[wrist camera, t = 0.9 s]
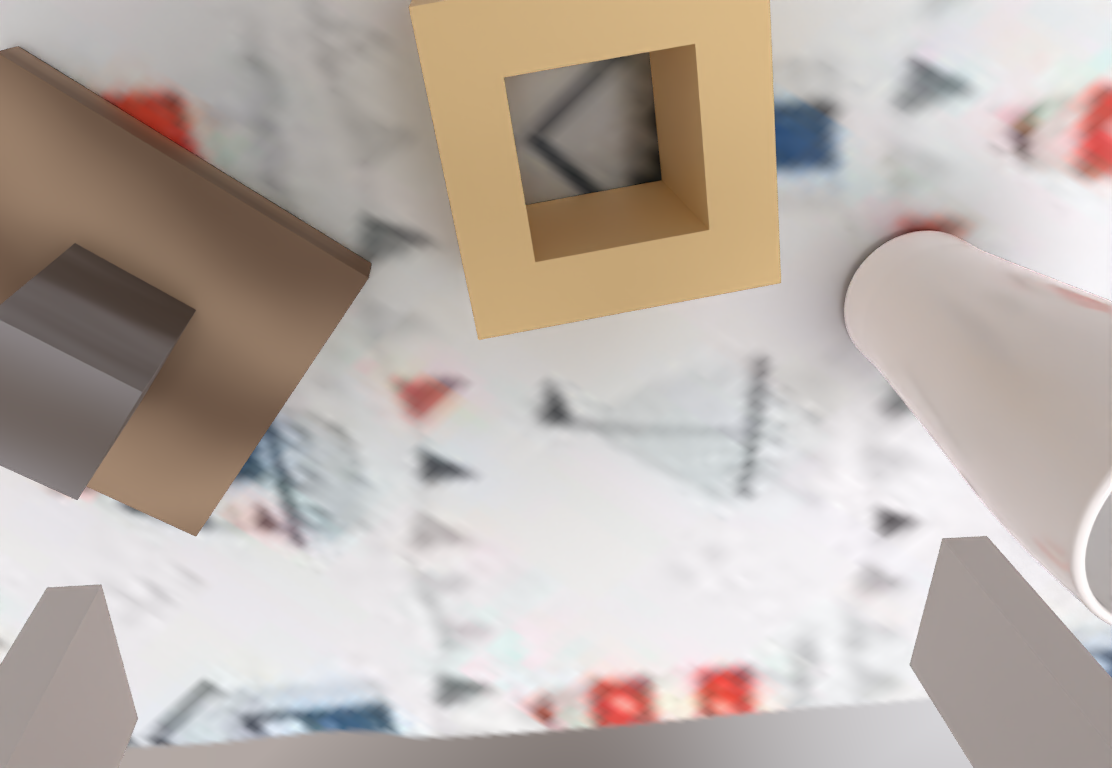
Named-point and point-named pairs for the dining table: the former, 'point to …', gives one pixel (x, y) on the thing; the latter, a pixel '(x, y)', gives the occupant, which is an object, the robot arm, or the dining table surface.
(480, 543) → the dining table surface
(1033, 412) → the drinking glass
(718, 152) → the collar
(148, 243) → the post base
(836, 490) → the dining table surface
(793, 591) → the dining table surface
